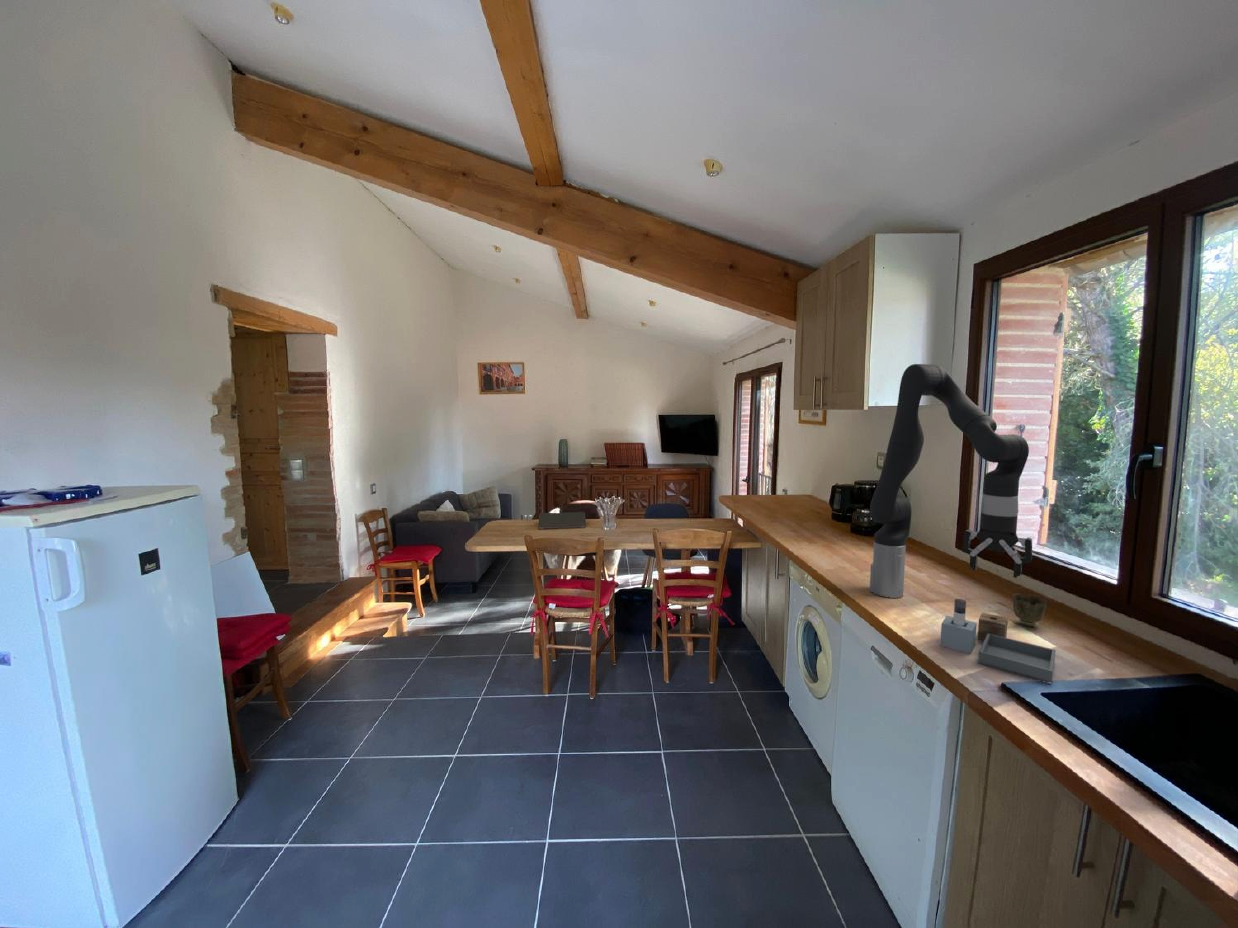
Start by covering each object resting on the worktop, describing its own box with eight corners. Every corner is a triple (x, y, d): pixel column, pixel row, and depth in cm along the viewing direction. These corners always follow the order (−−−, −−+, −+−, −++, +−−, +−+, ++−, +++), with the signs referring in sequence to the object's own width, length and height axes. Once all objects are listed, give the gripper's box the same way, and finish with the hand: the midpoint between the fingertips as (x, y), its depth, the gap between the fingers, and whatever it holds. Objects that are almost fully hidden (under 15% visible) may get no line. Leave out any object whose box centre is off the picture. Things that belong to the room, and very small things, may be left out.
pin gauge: (951, 645, 126) (953, 600, 125) (952, 641, 128) (955, 597, 127) (962, 648, 125) (965, 603, 123) (963, 644, 126) (966, 600, 125)
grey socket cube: (940, 645, 126) (941, 623, 126) (945, 636, 131) (946, 615, 130) (970, 653, 122) (972, 630, 121) (975, 644, 126) (976, 622, 126)
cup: (1041, 622, 139) (1043, 595, 138) (1047, 633, 132) (1050, 604, 132) (1008, 617, 142) (1010, 591, 142) (1013, 627, 136) (1015, 599, 135)
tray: (978, 663, 117) (979, 651, 117) (986, 644, 127) (987, 633, 126) (1051, 684, 108) (1052, 671, 108) (1054, 661, 118) (1055, 649, 117)
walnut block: (977, 640, 129) (978, 618, 128) (980, 633, 133) (982, 612, 132) (1003, 647, 125) (1005, 624, 125) (1006, 639, 129) (1007, 618, 128)
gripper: (962, 510, 128) (958, 570, 129) (1033, 518, 117) (1028, 583, 119) (968, 506, 133) (964, 564, 135) (1036, 513, 123) (1031, 575, 124)
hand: (994, 573), depth 127 cm, fingers open, 8 cm apart
